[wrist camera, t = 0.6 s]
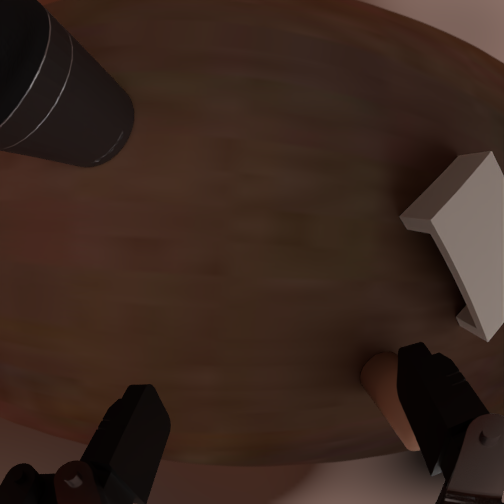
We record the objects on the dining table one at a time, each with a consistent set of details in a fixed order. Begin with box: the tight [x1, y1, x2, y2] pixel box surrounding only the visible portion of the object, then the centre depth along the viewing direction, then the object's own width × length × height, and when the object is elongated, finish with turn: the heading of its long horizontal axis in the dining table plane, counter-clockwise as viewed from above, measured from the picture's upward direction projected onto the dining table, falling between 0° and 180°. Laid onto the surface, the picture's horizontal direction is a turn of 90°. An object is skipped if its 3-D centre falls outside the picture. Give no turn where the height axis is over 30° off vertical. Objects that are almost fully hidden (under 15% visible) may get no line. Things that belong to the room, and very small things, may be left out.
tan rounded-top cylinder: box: [360, 352, 420, 451], centre depth 28 cm, size 6×6×12 cm
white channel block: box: [399, 151, 504, 342], centre depth 29 cm, size 18×12×6 cm, turn 40°
